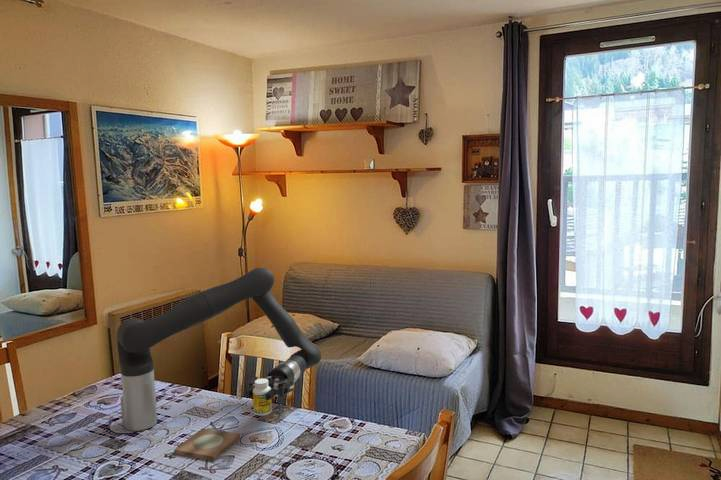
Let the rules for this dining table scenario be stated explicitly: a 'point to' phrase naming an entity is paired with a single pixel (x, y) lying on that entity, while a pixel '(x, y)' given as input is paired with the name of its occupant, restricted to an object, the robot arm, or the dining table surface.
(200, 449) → the walnut board
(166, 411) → the dining table surface
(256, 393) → the supplement bottle
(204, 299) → the robot arm
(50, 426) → the dining table surface
